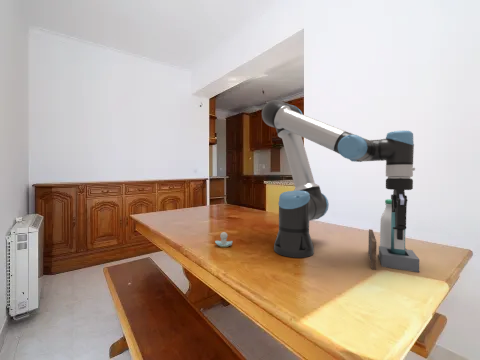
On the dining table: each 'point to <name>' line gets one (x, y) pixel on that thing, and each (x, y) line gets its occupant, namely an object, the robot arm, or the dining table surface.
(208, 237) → the dining table surface
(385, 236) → the milk bottle
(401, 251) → the peg
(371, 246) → the wooden cutting board
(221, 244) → the pacifier
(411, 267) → the socket block
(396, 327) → the dining table surface
